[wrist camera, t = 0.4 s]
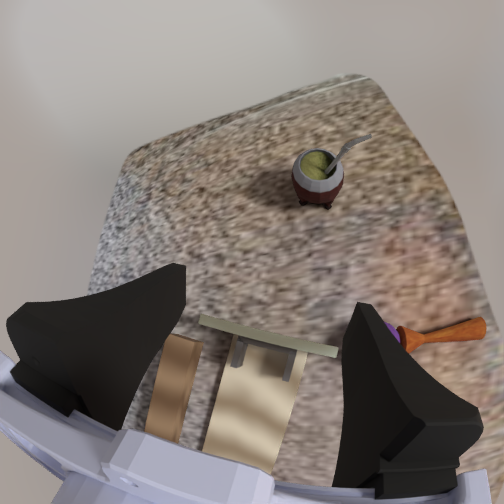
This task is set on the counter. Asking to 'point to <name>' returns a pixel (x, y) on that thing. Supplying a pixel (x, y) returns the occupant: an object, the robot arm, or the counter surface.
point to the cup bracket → (256, 392)
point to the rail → (173, 387)
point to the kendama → (440, 334)
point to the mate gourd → (320, 174)
